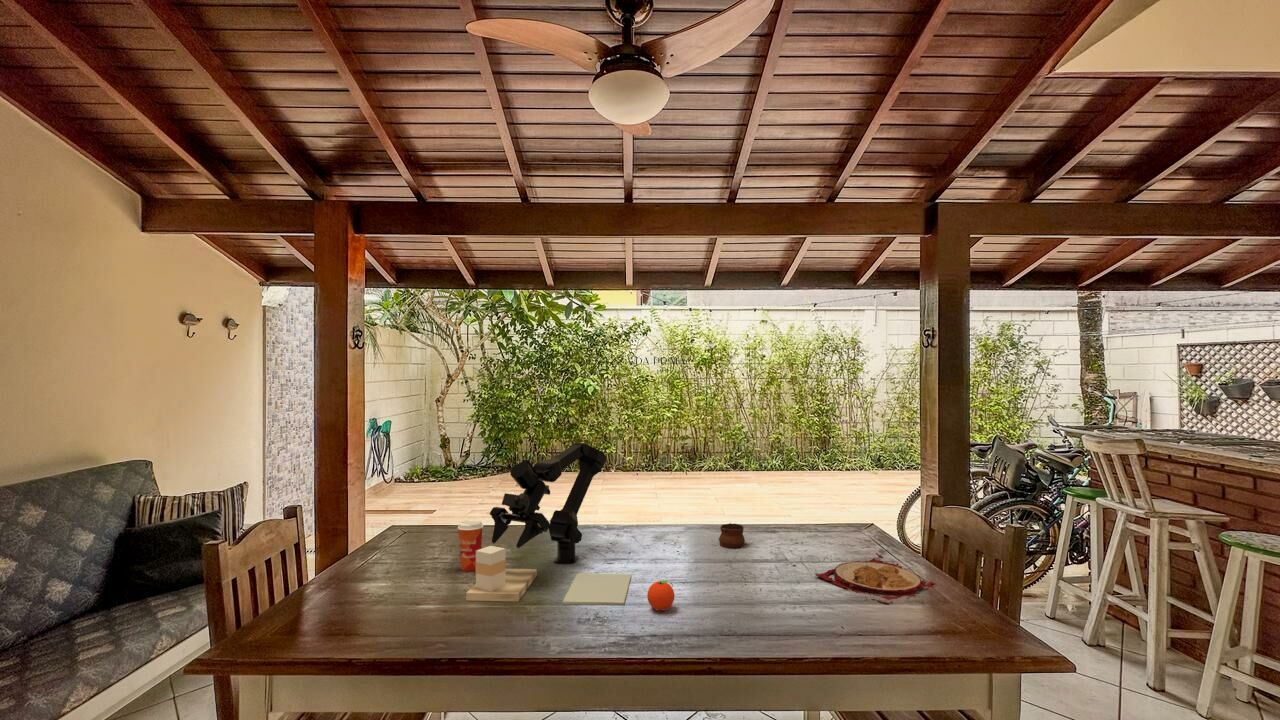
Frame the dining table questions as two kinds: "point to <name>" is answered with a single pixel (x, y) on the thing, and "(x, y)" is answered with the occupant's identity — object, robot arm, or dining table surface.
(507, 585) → the board
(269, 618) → the dining table surface
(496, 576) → the carton
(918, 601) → the dining table surface
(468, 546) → the paper cup
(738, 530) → the ceramic pot
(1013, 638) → the dining table surface
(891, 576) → the plate with food
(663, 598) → the clementine
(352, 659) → the dining table surface
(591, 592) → the mat
